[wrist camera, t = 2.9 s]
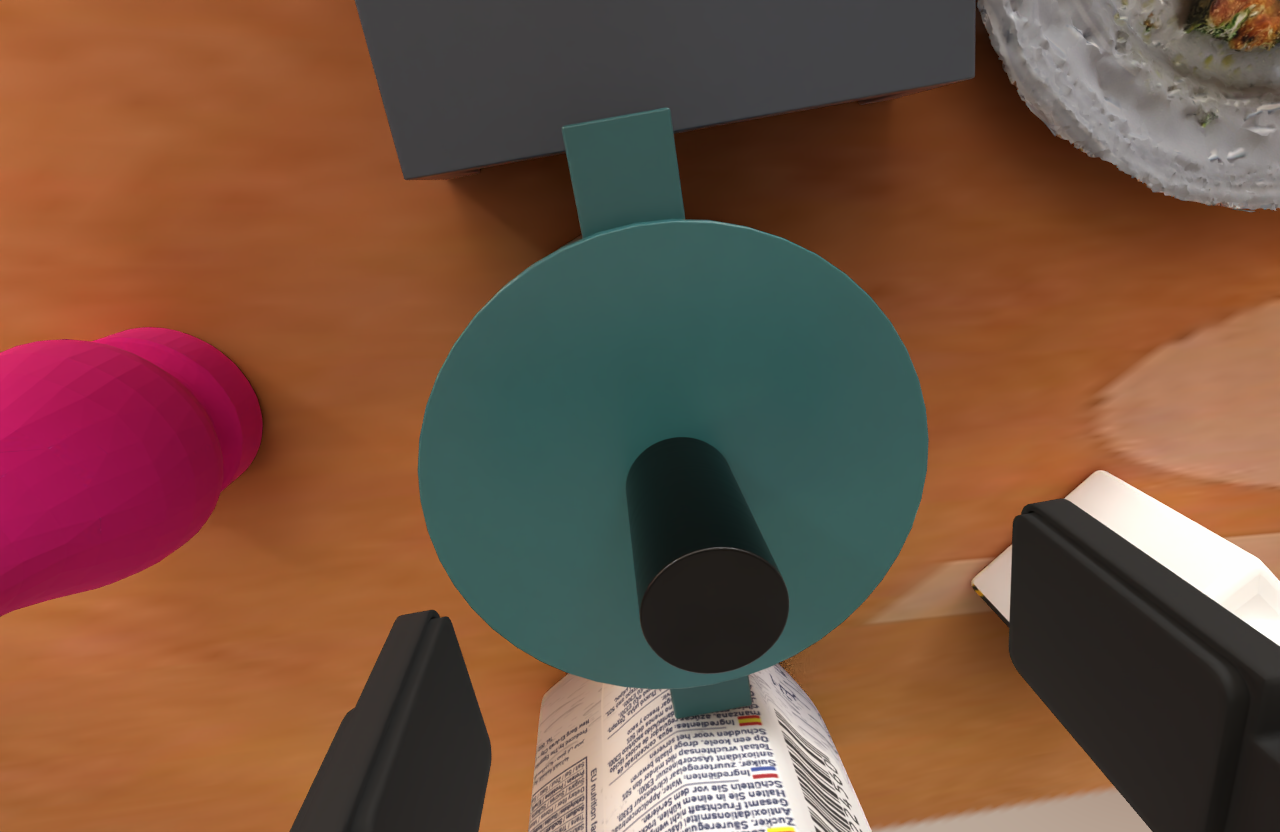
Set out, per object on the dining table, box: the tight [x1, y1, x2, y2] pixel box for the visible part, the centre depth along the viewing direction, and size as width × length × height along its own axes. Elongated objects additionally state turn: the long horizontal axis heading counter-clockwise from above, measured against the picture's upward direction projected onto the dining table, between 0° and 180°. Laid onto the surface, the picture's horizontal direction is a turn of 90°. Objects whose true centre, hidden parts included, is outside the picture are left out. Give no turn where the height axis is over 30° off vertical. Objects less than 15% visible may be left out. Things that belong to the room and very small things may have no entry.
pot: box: [559, 107, 752, 719], centre depth 20 cm, size 11×17×8 cm
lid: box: [418, 219, 928, 689], centre depth 14 cm, size 12×12×6 cm
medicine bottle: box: [971, 470, 1280, 646], centre depth 23 cm, size 7×7×12 cm
